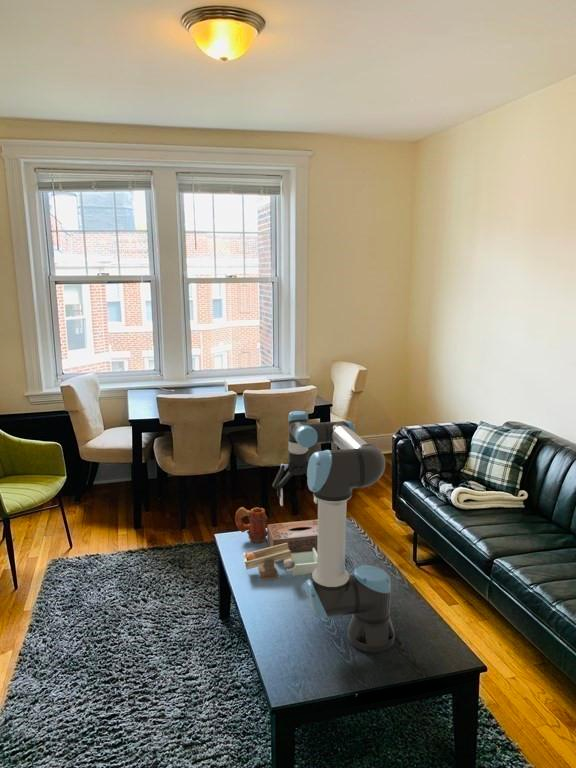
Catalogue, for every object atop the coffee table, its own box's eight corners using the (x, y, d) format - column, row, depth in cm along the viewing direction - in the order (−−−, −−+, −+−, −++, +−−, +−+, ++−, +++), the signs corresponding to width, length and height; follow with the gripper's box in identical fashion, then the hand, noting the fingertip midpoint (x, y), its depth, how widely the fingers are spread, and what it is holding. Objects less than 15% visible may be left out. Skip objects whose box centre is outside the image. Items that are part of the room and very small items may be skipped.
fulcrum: (278, 578, 217) (278, 561, 215) (260, 580, 216) (260, 562, 214) (274, 564, 227) (274, 548, 225) (257, 566, 226) (257, 549, 224)
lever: (296, 569, 210) (294, 561, 209) (249, 581, 207) (247, 573, 206) (288, 549, 225) (287, 541, 224) (244, 560, 222) (243, 553, 221)
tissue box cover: (273, 562, 229) (273, 539, 227) (267, 545, 243) (267, 524, 241) (334, 555, 234) (334, 533, 232) (324, 539, 248) (324, 518, 246)
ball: (256, 561, 218) (254, 554, 217) (248, 564, 217) (245, 557, 216) (255, 557, 221) (253, 549, 220) (247, 560, 221) (244, 552, 220)
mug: (269, 536, 251) (269, 504, 248) (267, 545, 243) (266, 512, 240) (237, 535, 252) (236, 503, 249) (234, 543, 244) (233, 511, 241)
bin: (319, 573, 220) (319, 559, 219) (293, 576, 218) (293, 562, 217) (314, 561, 229) (314, 547, 228) (288, 563, 227) (288, 550, 226)
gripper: (327, 446, 220) (327, 497, 225) (264, 450, 216) (265, 501, 220) (332, 452, 213) (332, 504, 217) (267, 456, 209) (268, 509, 213)
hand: (298, 503), depth 219 cm, fingers open, 13 cm apart
